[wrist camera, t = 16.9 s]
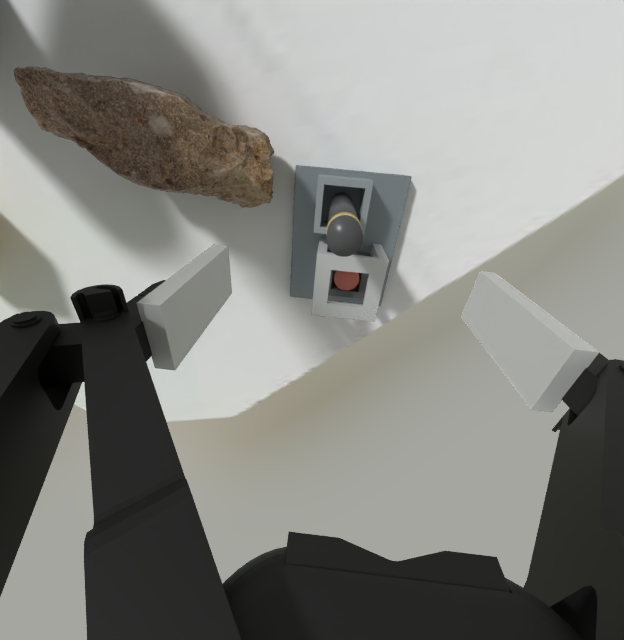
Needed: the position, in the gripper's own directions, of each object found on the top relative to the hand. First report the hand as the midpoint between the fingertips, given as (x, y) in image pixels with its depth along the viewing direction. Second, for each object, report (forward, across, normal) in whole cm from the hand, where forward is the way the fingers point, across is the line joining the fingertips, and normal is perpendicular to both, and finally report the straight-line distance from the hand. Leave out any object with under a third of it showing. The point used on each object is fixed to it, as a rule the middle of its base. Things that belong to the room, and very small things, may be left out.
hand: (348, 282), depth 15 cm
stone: (+29, -19, +5) cm, 35 cm away
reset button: (+27, +2, -10) cm, 29 cm away
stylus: (+27, 0, 0) cm, 27 cm away
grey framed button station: (+29, +1, -6) cm, 29 cm away
